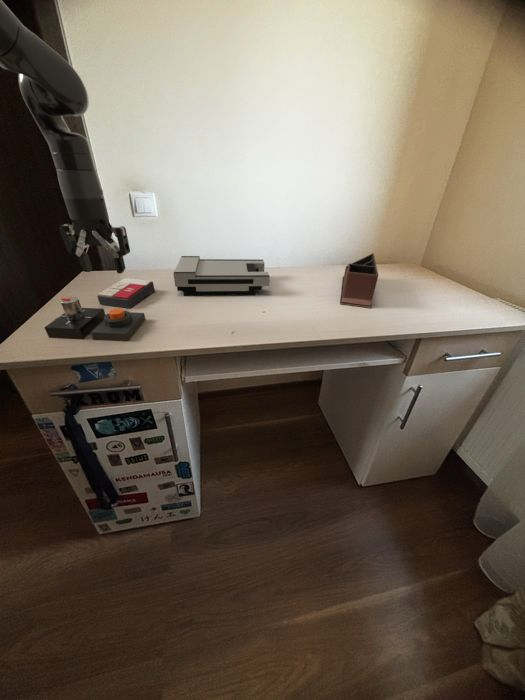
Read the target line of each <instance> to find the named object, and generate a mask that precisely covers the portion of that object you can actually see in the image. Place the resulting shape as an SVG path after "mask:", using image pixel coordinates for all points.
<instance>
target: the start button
mask: <svg viewBox="0 0 525 700" xmlns="http://www.w3.org/2000/svg"><path fill="white" fill-rule="evenodd" d="M124 311H125V310H124V308H113V309H110V310H109V311H108V313H109V315H110V319H113V320H116V319H121V318H124V317H125V314H124Z"/></svg>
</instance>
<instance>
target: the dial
mask: <svg viewBox="0 0 525 700" xmlns="http://www.w3.org/2000/svg"><path fill="white" fill-rule="evenodd" d="M60 304H61V308H62V309H63V312H64V313H65V315H66V317H67V319H68V320H72V321H73V320H79V319H81V318H83V317H84V313H83V310H82V308H83V307H82V305H81V302H80V300H79V297H78V296H67V297H61V300H60Z"/></svg>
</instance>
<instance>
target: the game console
mask: <svg viewBox="0 0 525 700" xmlns="http://www.w3.org/2000/svg"><path fill="white" fill-rule="evenodd" d="M179 258H180V259H179V260H178V263H177V265H176V267H175V268H174V271H173V280H174V287H176V290H177V292H183V297H203V296H204V297H206V296H209V297H210V296H256V291H262V290H263V287H270V280H271V276H270V274H269V271H265V265H266V264H265V261H264V259H249V258H248V259H239V258H237V259H236V258H235V259H231V258H230V259H228V258H227V259H226V258H225V259H224V258H223V259H221V258H220V259H219V258H215V259H213V258H212V259H210V258H209V259H208V258H207V259H206V258H203V259H202V258H201V257H200V256H199V255H181V256H180V257H179Z"/></svg>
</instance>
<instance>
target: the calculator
mask: <svg viewBox="0 0 525 700" xmlns="http://www.w3.org/2000/svg"><path fill="white" fill-rule="evenodd" d="M154 292H156V289H155V285H154V281H152V280H145V279H137V278H128V277H124V278H123V279H122V280H120V281H117V282H115V283H114V284H112V285H110V286H109V287H108V288H105V289H104V290H103V291H101V292H99V293H98V294H97V295H96V297H97V300H98V302H99V305H100V306H101V305H102V306H109V307H116V308H121V309H132V308H133V307H134V306H135V305H137V304H138V303H139V302H141V301H142V300H143V299H144V298H146V297H147V296H151V295H152V294H153V293H154Z"/></svg>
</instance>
